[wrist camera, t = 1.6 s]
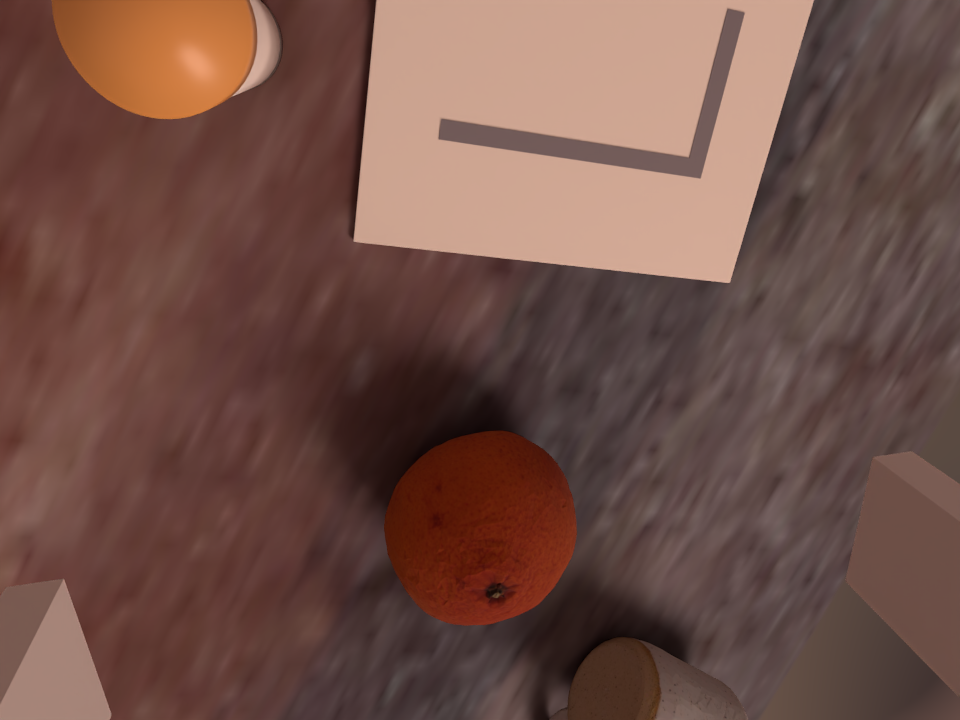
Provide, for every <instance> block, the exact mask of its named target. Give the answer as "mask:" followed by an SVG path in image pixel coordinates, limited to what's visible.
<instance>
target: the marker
mask: <svg viewBox="0 0 960 720" xmlns="http://www.w3.org/2000/svg"><path fill="white" fill-rule="evenodd" d="M52 9H53V17H54V22H55V26H56V30H57V34H58V36H59V39H60V42H61V44H62V47H63V48H64V50H65V52H66V54H67V56H68V58H69V60H70V61H71V63H72V64H73V66H74V67H75V69H76V70H77V71H78V72H79V74H80V75H81V76H82V77H83V78H84V80H85V81H86V82H87V83H88V84H89V85H90V86H91V87H92V88H94V89H95V90H96V91H97V92H98V93H99V94H101V95H102V96H103V97H105V98H106V99H107V100H109V101H111V102H112V103H114V104H116V105H117V106H119V107H121V108H124V109H126V110H128V111H130V112H133V113H136V114H139V115H142V116H147V117H151V118H159V119H179V118H184V117H190V116H193V115H196V114H199V113H202V112H204V111H206V110H208V109H211V108H213V107H215V106H217V105H219V104H221V103H223V102H224V101H226V100H227V99H229V98H230V97H232V96H235V95H237V94H239V93H242V92H244V91H246V90H249V89H252V88H255V87H257V86H259V85H261V84H263V83H264V82H266V81H267V80H268V79H269V78H270V77H271V76H272V75H273V74H274V73H275V71H276V70H277V68H278V66H279V63H280V61H281V57H282V51H283V40H282V34H281V30H280V27H279V24H278V22H277V20H276V18H275V16H274V15H273V13H272V12H271V10H270V9H269V8H268V7H267V6H266V5H265V4H264V3H263V2H262V1H261V0H52Z"/></svg>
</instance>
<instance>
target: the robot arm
mask: <svg viewBox="0 0 960 720" xmlns="http://www.w3.org/2000/svg"><path fill="white" fill-rule="evenodd" d="M846 582H847V583H848V584H849V585H850V586H851V587H852V588H853V589H854V590H855V592H857V594H858V595H860V597H861V598H862V599H863V600H864V601H865V602H866V603H867V604H868V605H869V606H870V607H871V608H872V609H873V610H874V611H875V612H876V613H877V614H878V615H879V616H880V617H881V618H882V619H883V620H884V621H885V622H886V623H887V624H888V625H889V626H890V627H891V628H892V629H893V630H894V631H895V632H896V633H897V634H898V635H899V636H900V637H901V638H902V639H903V640H904V641H905V643H906V644H907V645H908V646H909V647H910V648H911V649H912V650H913V651H914V652H915V653H916V654H917V655H918V656H919V657H920V658H921V659H922V660H923V661H924V662H925V663H926V664H927V665H928V666H929V667H930V668H931V669H932V670H933V671H934V672H935V673H936V674H937V675H938V676H939V677H940V678H941V679H942V680H943V681H944V682H945V683H946V684H947V685H948V686H949V687H950V688H951V689H952V690H953V691H954V692H955V693H956V695H958V697H959V698H960V484H958V483H957V482H956V481H954V480H953V479H951V478H950V477H948V476H947V475H945V474H944V473H943V472H941V471H940V470H938V469H937V468H935V467H934V466H932V465H931V464H929V463H928V462H926V461H925V460H923V459H922V458H921V457H919V456H918V455H916V454H915V453H913V452H912V451H911V452H904V453H898V454H891V455H884V456H878V457H873V459H872V464H871V468H870V473H869V477H868V482H867V486H866V491H865V495H864V500H863V504H862V509H861V513H860V518H859V522H858V527H857V532H856V536H855V541H854V545H853V550H852V554H851V559H850V563H849V568H848V572H847V577H846ZM110 717H111V712H110V709H109V706H108V703H107V700H106V697H105V695H104V692H103V689H102V686H101V683H100V680H99V678H98V675H97V672H96V669H95V666H94V663H93V660H92V658H91V655H90V652H89V649H88V646H87V643H86V641H85V638H84V635H83V632H82V629H81V626H80V623H79V621H78V618H77V615H76V612H75V609H74V606H73V604H72V601H71V598H70V595H69V592H68V589H67V586H66V584H65V581H64V579H59V580H52V581H45V582H39V583H32V584H25V585H19V586H12V587H6V588H5V590H4V591H3V593H2V595H1V596H0V720H110Z"/></svg>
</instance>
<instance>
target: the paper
mask: <svg viewBox="0 0 960 720" xmlns="http://www.w3.org/2000/svg"><path fill="white" fill-rule="evenodd" d="M813 1H814V0H376V7H375V17H374V28H373V39H372V49H371V60H370V70H369V81H368V91H367V102H366V112H365V123H364V134H363V144H362V155H361V165H360V176H359V186H358V197H357V207H356V218H355V229H354V239H353V241H354V242H361V243H370V244H379V245H388V246H397V247H406V248H415V249H425V250H434V251H443V252H452V253H461V254H470V255H479V256H488V257H497V258H507V259H516V260H525V261H534V262H543V263H552V264H561V265H570V266H579V267H589V268H598V269H607V270H616V271H625V272H634V273H643V274H652V275H661V276H671V277H680V278H689V279H698V280H707V281H716V282H725V283H730V280H731V277H732V273H733V270H734V267H735V263H736V260H737V256H738V253H739V250H740V246H741V243H742V240H743V236H744V233H745V230H746V226H747V223H748V219H749V216H750V213H751V209H752V206H753V203H754V199H755V196H756V193H757V189H758V186H759V183H760V179H761V176H762V172H763V169H764V166H765V162H766V159H767V156H768V152H769V149H770V146H771V142H772V139H773V136H774V132H775V129H776V125H777V122H778V119H779V115H780V112H781V109H782V105H783V102H784V99H785V95H786V92H787V89H788V85H789V82H790V78H791V75H792V72H793V68H794V65H795V62H796V58H797V55H798V52H799V48H800V45H801V41H802V38H803V35H804V31H805V28H806V25H807V21H808V18H809V15H810V11H811V8H812V5H813Z"/></svg>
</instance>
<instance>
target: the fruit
mask: <svg viewBox="0 0 960 720" xmlns="http://www.w3.org/2000/svg"><path fill="white" fill-rule="evenodd" d="M384 531H385V539H386V545H387V551H388V555H389V558H390V560H391V562H392V565H393V568H394V570H395V572H396V574H397V575H398V577H399V579H400V581H401V583H402V584H403V586H404V588H405V590H406V591H407V593H408V594H409V595H410V596H411V597H412V599H413V600H414V601H415V602H416V604H417V605H418V606H419V607H420V608H421V609H422V610H423V611H425V612H426V613H427V614H429V615H431V616H433V617H434V618H437V619H439V620H441V621H444V622H446V623H451V624H458V625H486V624H492V623H496V622H499V621H502V620H505V619H509V618H512V617H515V616H517V615H520V614H522V613H524V612H526V611H528V610H530V609H532V608H533V607H535V606H537V605H538V604H539V603H540V602H541V601H542V600H543V599H544V598H545V597H546V596H547V595H548V594H549V593H550V592H551V590H552V589H553V588H554V587H555V585H556V584H557V582H558V581H559V579H560V577H561V575H562V574H563V572H564V570H565V568H566V567H567V565H568V563H569V561H570V559H571V557H572V554H573V551H574V547H575V542H576V535H577V529H576V516H575V508H574V503H573V498H572V494H571V492H570V490H569V486H568V483H567V479H566V478H565V476H564V474H563V472H562V471H561V469H560V467H559V466H558V464H557V463H556V462H555V461H554V459H553V458H552V457H551V456H550V455H549V454H548V453H547V452H546V451H545V450H543V449H542V448H540V447H539V446H537V445H536V444H534V443H532V442H530V441H529V440H527V439H525V438H524V437H522V436H520V435H517V434H515V433H512V432H508V431H485V432H480V433H474V434H469V435H465V436H460V437H456V438H454V439H451V440H448V441H446V442H445V443H443V444H441V445H438V446H435V447H434V448H432V449H431V450H429V451H428V452H427V453H425V454H424V455H423V456H421V457H420V458H419V459H418V460H417V461H416V462H415V463H414V464H413V465H412V466H411V467H410V468H409V469H408V470H407V472H406V473H405V474H404V475H403V476H402V477H401V479H400V480H399V482H398V484H397V485H396V487H395V489H394V492H393V495H392V497H391V499H390V502H389V505H388V508H387V512H386V515H385V524H384Z"/></svg>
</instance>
